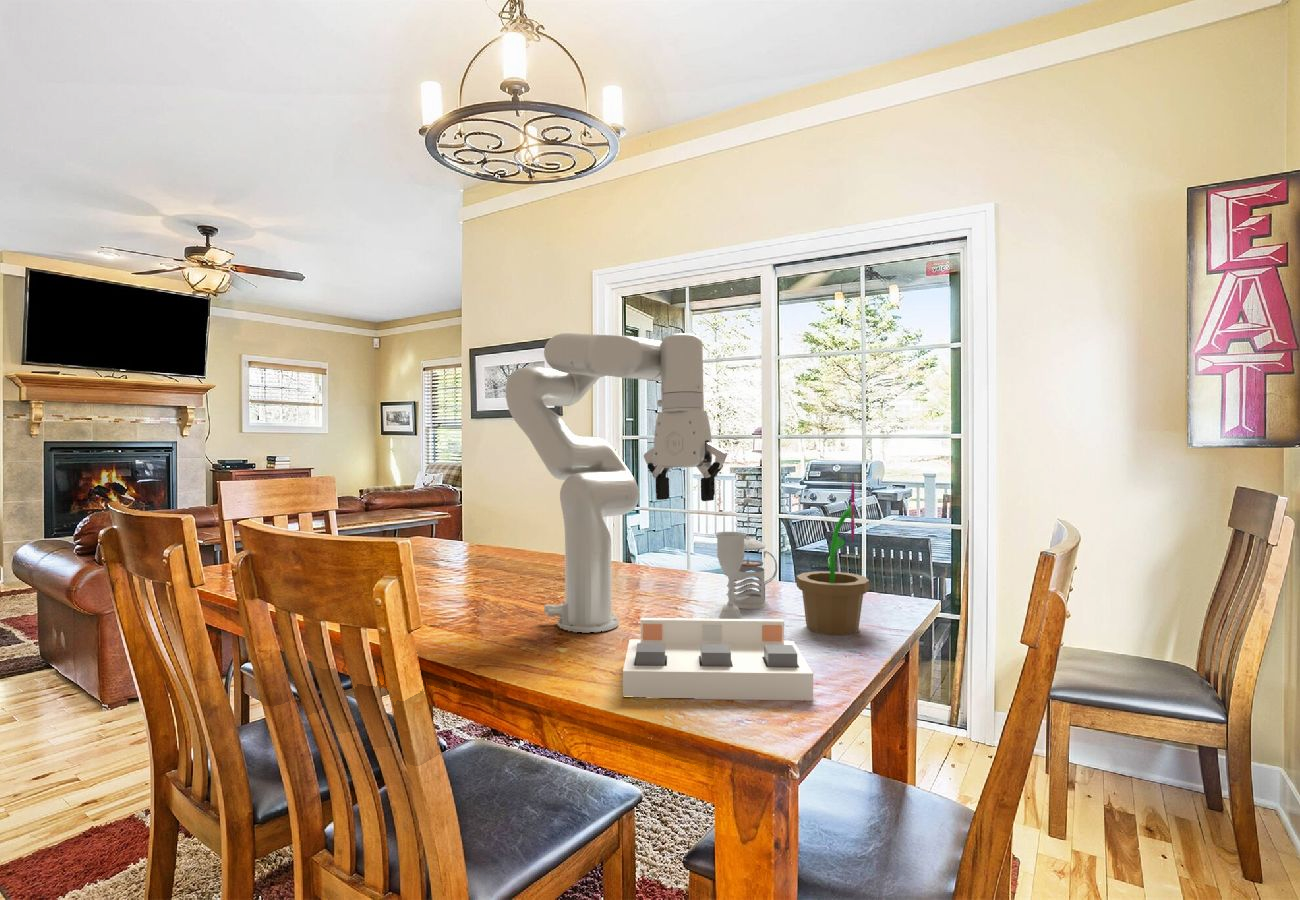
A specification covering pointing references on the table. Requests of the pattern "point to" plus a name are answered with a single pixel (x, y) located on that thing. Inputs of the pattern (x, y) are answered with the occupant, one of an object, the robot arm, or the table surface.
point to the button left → (650, 654)
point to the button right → (780, 656)
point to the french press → (751, 596)
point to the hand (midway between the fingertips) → (684, 499)
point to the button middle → (715, 655)
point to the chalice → (730, 566)
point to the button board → (704, 682)
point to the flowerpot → (833, 591)
